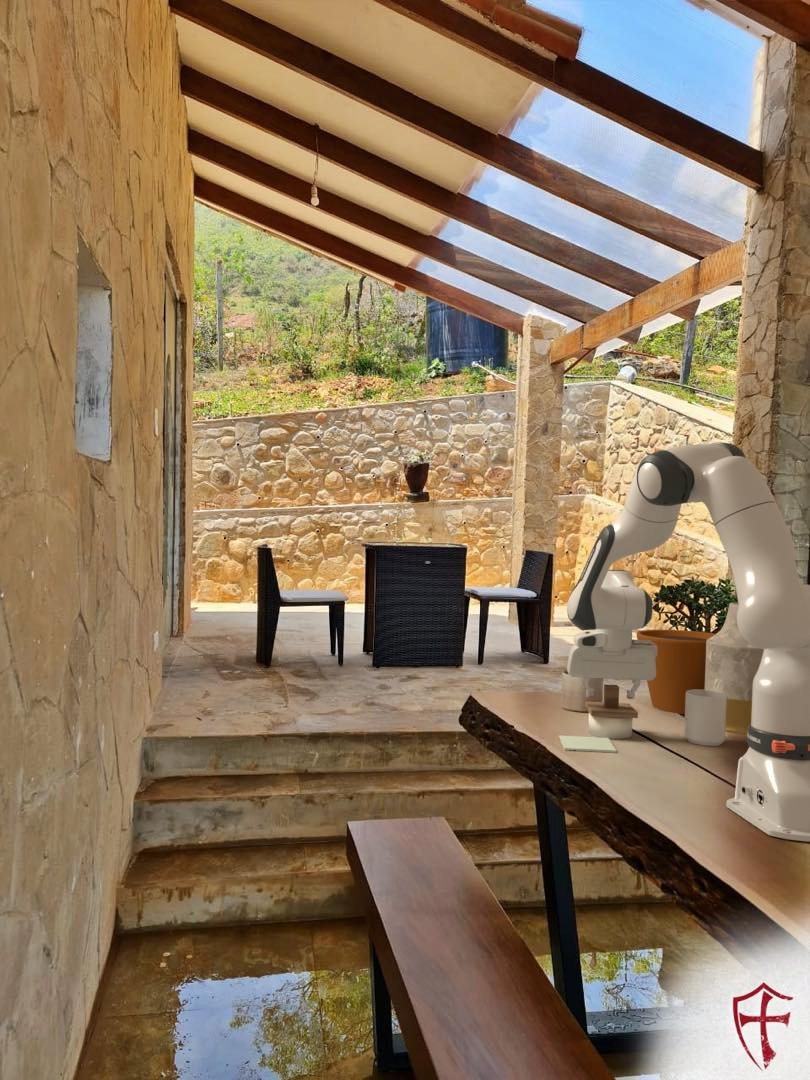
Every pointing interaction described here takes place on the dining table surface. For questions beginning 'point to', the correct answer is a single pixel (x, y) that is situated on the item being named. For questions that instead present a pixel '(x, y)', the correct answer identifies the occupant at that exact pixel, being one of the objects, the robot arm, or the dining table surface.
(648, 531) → the robot arm
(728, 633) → the vase
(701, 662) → the flower pot
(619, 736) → the disc with square top
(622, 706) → the lid
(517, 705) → the dining table surface
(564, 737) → the mat
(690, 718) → the mug
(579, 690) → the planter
